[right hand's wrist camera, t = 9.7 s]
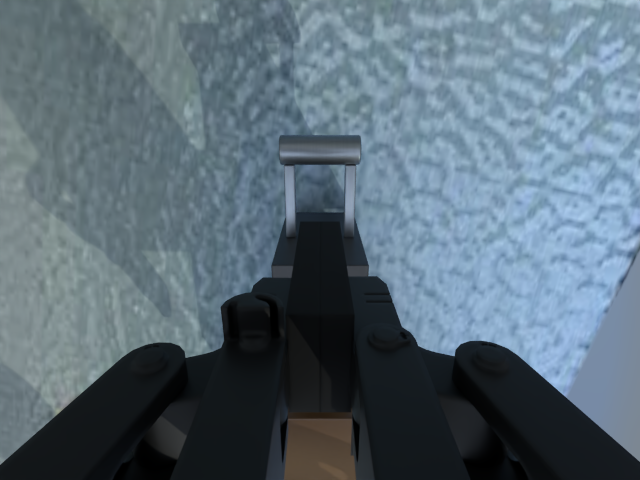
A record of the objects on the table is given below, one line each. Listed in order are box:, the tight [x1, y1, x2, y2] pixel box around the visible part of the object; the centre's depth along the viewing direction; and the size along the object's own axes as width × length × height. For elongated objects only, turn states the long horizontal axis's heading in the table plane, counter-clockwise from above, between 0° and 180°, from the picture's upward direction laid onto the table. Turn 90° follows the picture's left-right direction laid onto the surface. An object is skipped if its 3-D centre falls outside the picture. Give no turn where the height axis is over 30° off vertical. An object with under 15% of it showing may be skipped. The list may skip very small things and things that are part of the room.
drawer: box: [272, 135, 369, 278], centre depth 25 cm, size 21×5×10 cm, turn 0°
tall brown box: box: [284, 405, 356, 480], centre depth 30 cm, size 16×6×11 cm, turn 0°
